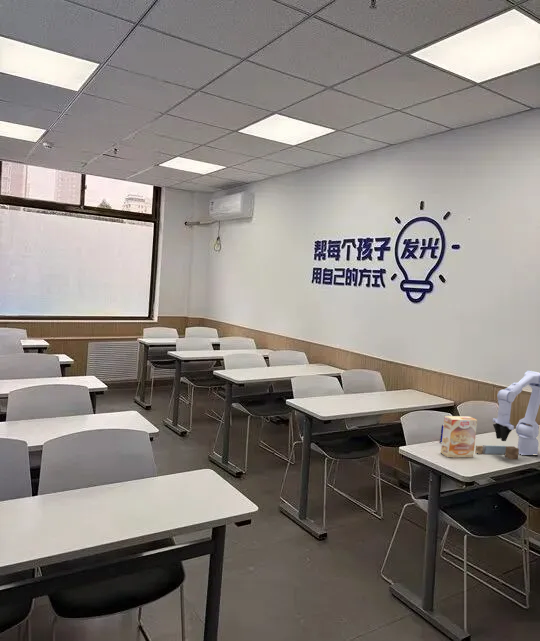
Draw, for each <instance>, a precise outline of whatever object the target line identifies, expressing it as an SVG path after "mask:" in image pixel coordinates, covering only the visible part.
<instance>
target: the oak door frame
mask: <svg viewBox="0 0 540 641" xmlns="http://www.w3.org/2000/svg"><path fill="white" fill-rule="evenodd" d="M482 451H483V445H475V450H474V452H475V453H474V454H476V453H478V454H477V455H482V454H483V453H482Z"/></svg>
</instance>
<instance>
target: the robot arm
mask: <svg viewBox="0 0 540 641" xmlns="http://www.w3.org/2000/svg"><path fill="white" fill-rule="evenodd" d="M527 386H528V387H530V388H531V394H530V397H529V401H528V405H527V407H526V411H525V415H524V417H523V418H520V419H519V420H518V422H517V424H516V425H513V424H512V423H511V422H510V419H511V410H512V403H514V401H515V399H516V398H517V396H518V395H519V394H521V393H522V391H523V389H524V388H525V387H527ZM496 397H497V403H498V409H497V410H498V411H497V416H496V418H495V417H493V418H492V419H491V420H492V422H493V424H492V426H493V428H494V431H495V436H496V437H495V438H496V439H500V440H501V441H502V442H506V441H507V439H508V437H509V435H510V433H511V432H512V431H513V430H515V433H516V434H517V436H518V439H517V440H518V441H517V448H518V449H519V454H518V455H520V454H521V456H522V455H533V454H537V455H539V454H538V452H539V444H540V443H539V441H538V439H537V438H538V436H539V433H540V432H539V428H540V425H539V424H538V422H537V421H536V418H537V415H538V413H539V408H540V372H538V371H533V370H528V369H527V370H526V372H524V374H523V377H522V378H521V379H520V380H519V381H518V382H512V383H511V384H510V385H508V387H505V388H504V389H500V390H499V391H497V395H496Z"/></svg>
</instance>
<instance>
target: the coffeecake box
mask: <svg viewBox="0 0 540 641" xmlns="http://www.w3.org/2000/svg"><path fill="white" fill-rule="evenodd" d="M443 424H444V427H443V435H442V443H440V444H441V445H440V454H441V453H442V455H443V454H444V456H445V457H446V456H447V457H446V458H448V457H453V458H474V454H475V453H474V452H475V446H476V437H477V436H476V434H477V426H478V418H477V419H476V418H474V417H472V416H470V415H469V416H468V415H467V416H465V415H464V416H463V415H462V416H461V415H460V416H459V415H455V416H454V415H444V420H443Z"/></svg>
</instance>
